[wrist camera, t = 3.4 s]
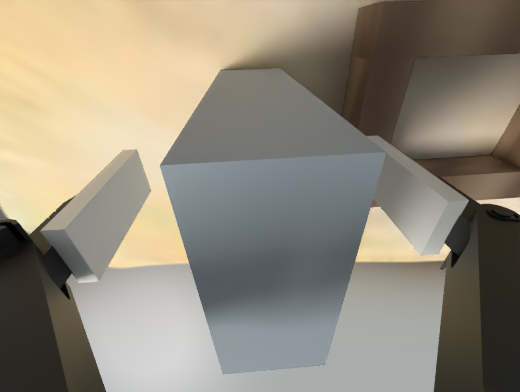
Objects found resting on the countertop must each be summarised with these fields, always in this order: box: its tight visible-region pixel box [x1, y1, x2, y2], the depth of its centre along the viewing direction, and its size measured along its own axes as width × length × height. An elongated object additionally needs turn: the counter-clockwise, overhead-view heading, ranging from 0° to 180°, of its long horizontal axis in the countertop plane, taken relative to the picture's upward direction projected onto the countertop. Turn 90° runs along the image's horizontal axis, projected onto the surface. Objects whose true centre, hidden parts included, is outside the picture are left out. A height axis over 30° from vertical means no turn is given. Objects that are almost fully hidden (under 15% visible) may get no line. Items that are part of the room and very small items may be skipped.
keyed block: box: [160, 68, 386, 374], centre depth 12 cm, size 4×9×14 cm, turn 2°
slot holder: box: [342, 0, 520, 207], centre depth 17 cm, size 16×13×3 cm
